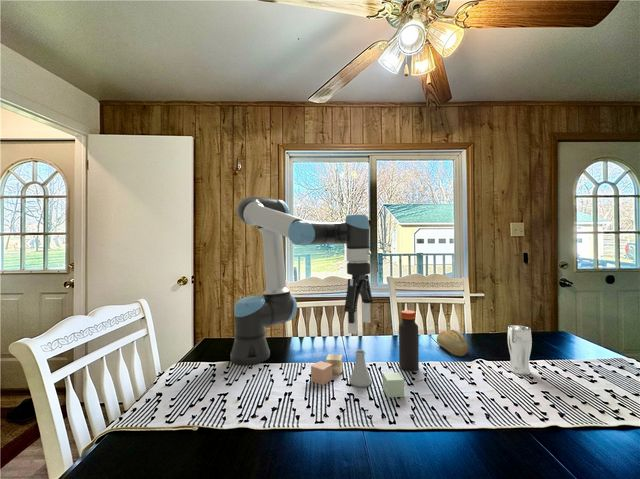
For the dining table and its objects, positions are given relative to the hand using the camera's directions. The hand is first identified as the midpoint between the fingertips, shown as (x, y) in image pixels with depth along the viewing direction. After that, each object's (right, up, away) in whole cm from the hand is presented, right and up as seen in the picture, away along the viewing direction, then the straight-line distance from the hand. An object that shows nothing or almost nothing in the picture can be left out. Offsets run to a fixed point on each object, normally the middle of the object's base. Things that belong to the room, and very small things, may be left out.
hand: (360, 327), depth 97 cm
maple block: (-8, -18, +8) cm, 21 cm away
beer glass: (+56, -17, +6) cm, 59 cm away
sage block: (+9, -18, -7) cm, 21 cm away
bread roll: (+41, -17, +26) cm, 52 cm away
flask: (0, -18, 0) cm, 18 cm away
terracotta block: (-12, -18, +2) cm, 22 cm away
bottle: (+19, -18, +10) cm, 28 cm away
